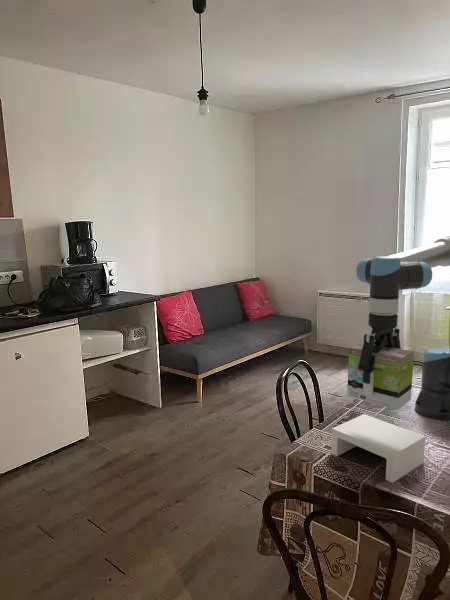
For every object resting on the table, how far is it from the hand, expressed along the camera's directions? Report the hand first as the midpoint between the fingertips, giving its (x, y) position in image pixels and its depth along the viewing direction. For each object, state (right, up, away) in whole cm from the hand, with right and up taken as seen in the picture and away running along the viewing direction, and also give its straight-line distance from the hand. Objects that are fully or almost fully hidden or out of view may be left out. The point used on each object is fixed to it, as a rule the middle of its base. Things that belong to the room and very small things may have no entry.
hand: (379, 389), depth 128 cm
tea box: (0, -3, +1) cm, 3 cm away
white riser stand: (0, -21, +3) cm, 21 cm away
